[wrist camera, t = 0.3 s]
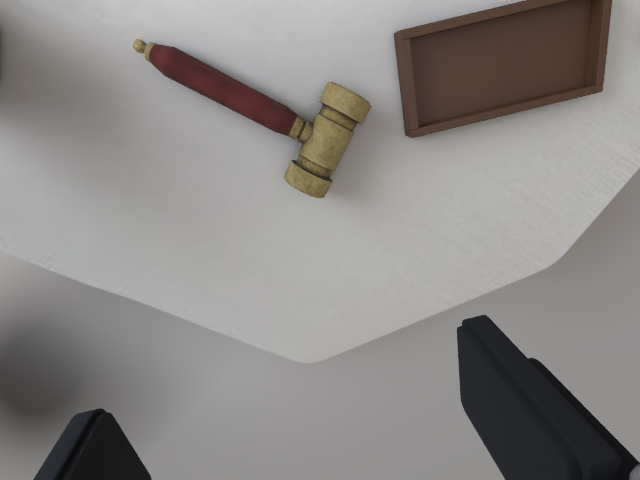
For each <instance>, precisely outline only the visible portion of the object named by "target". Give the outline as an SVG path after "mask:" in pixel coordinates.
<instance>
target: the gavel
mask: <svg viewBox="0 0 640 480" xmlns="http://www.w3.org/2000/svg"><path fill="white" fill-rule="evenodd" d="M133 48H134V49H135V50H136V51H137V52H139V53H144V57H145V58H146V60H147V61H149V62H151V63H152V64H153V65H154V66H155V67H156V68H157V69H158V70H159V71H160V72H161V73H162V74H163V75H165V76H167V77H168V78H170V79H172V80H174V81H176V82H178V83H180V84H182V85H184V86H186V87H188V88H190V89H192V90H194V91H196V92H198V93H200V94H202V95H204V96H206V97H208V98H210V99H212V100H214V101H216V102H218V103H220V104H222V105H224V106H226V107H228V108H230V109H232V110H233V111H235V112H237V113H239V114H241V115H243V116H245V117H247V118H249V119H251V120H253V121H255V122H257V123H259V124H261V125H263V126H265V127H267V128H269V129H271V130H273V131H275V132H278V133H281V134H284V135H287V136H290V137H292V138H293V139H296V138H297V139H299V140H298V141H299V142H301V143H303V144H302V146H301V149H300V151H299V153H300V155H299V157H298V159H297V161H295V160H291V162H290V164H289V167H288V169H287V171H286V173H285V175H284V178H285V180H286V182H287V183H289V184H290V185H291V186H293V187H294V188H296V189H298V190H299V191H301V192H303V193H305V194H308V195H310V196H313V197H316V198H324V197H325V195H326V193H327V191H328V189H329V187H330V185H331V183H332V180H331V179H330V178H329V177H330V175H331V173H332V171H334V170H335V169H336V167H337V165H338V163H339V161H340V159H341V157H342V155H343V153H344V151H345V149H346V147H347V145H348V143H349V141H350V139H351V137H352V135H353V134H354V133H353V130H354V128H355V126H356V124H357V123H360V124H362V123H363V121H364V119H365V117H366V115H367V114H368V112H369V110H370V108H371V105H370V103H369V102H368V101H367V100H365V99H364V98H362V97H361V96H359V95H357V94H356V93H354V92H352V91H350V90H348V89H346V88H344V87H342V86H340V85H338V84H336V83H333V82H329V83H327V85H326V87H325V90H324V92H323V94H322V96H321V98H320V100H319V101H320V102H321V103H322V104H323V106H322V108H321V110H320V112H319V114H317V115H316V117H315V119H314V121H313V122H311V121H309V120H308V121H305V119H304V118H303V117H301V116H299V115H297V114H296V113H295V112H293V111H292V110H291V109H289V108H288V107H287V106H285V105H283V104H281V103H279V102H277V101H275V100H273V99H271V98H270V97H268V96H266V95H264V94H262V93H260V92H258V91H256V90H254V89H252V88H251V87H249V86H247V85H245V84H243V83H241V82H239V81H237V80H235V79H234V78H232V77H230V76H228V75H226V74H224V73H222V72H220V71H218V70H216V69H215V68H213V67H211V66H209V65H207V64H205V63H203V62H201V61H199V60H198V59H196V58H194V57H192V56H190V55H188V54H186V53H184V52H182V51H180V50H179V49H177V48H175V47H169V46H163V45H157V44H155V43H153V42H151V43H148V44H147V45H146V44H145V43H144V42H143V41H142V40H139V39H138V40H135V41H134V43H133Z"/></svg>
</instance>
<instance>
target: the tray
mask: <svg viewBox="0 0 640 480" xmlns="http://www.w3.org/2000/svg"><path fill="white" fill-rule="evenodd" d="M611 5H612V0H526V1H522V2H518V3H513V4H509V5H505V6H501V7H497V8H492V9H488V10H484V11H480V12H476V13H471V14H467V15H463V16H459V17H455V18H450V19H446V20H442V21H438V22H434V23H429V24H425V25H421V26H417V27H413V28H408V29H404V30H400V31H398V32H396V33H394V39H395V48H396V56H397V65H398V74H399V83H400V91H401V100H402V109H403V117H404V126H405V135H406V136H409V137H411V138H414V137H418V136H422V135H426V134H430V133H434V132H439V131H443V130H447V129H451V128H455V127H459V126H463V125H467V124H471V123H475V122H480V121H484V120H488V119H492V118H496V117H500V116H504V115H508V114H512V113H516V112H520V111H525V110H529V109H533V108H537V107H541V106H545V105H549V104H553V103H557V102H561V101H566V100H570V99H574V98H578V97H582V96H586V95H590V94H594V93H598V92H602V90H603V84H602V83H604V73H605V63H606V54H607V44H608V34H609V25H610V15H611Z"/></svg>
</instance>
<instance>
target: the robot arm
mask: <svg viewBox="0 0 640 480" xmlns="http://www.w3.org/2000/svg"><path fill="white" fill-rule="evenodd" d="M457 342H458V358H459V376H460V394H461V402H462V405H463V408H464V410H465V412H466V414H467V416H468V417H469V419H470V421H471V422H472V424H473V426H474V428H475V429H476V431H477V432H478V434H479V436H480V438H481V439H482V441H483V443H484V444H485V446H486V448H487V449H488V451H489V453H490V454H491V456H492V458H493V460H494V461H495V463H496V464H497V466H498V468H499V470H500V471H501V473H502V475H503V476H504V478H505V480H640V463H639V462H638V461H637V460H636V459H635V458H634V457H633V456H632V455H631V454H630V453H629V451H627V449H626V448H625V447H624V446H623V445H622V444H620V443H619V441H618V440H617V439H616V438H615V437H614V436H613V435H612V434H611V433H610V432H609V431H608V430H607V429H606V428H605V427H604V426H603V425H602V424H601V423H600V422H599V421H598V420H597V419H596V418H595V417H594V416H593V415H592V414H591V413H590V412H589V411H588V410H587V409H586V408H585V407H584V406H583V405H582V404H581V403H580V402H579V401H578V400H577V399H576V398H575V397H574V396H573V395H572V394H571V392H570V391H568V389H567V388H566V387H564V385H563V384H562V383H561V382H560V381H559V380H558V379H557V378H556V377H555V376H554V375H553V374H552V373H551V372H550V371H549V370H548V369H547V368H546V367H545V366H544V365H543V364H542V363H541V362H539V361H538V360H536V359H534V358H529V359H528V358H527V357H526V356H525V355H524V354H523V353H522V352H521V351H520V350H519V349H518V348H517V347H516V346H515V345H514V344H513V343H512V342H511V341H510V339H509V338H508V337H507V336H506V335H505V334H504V333H503V332H502V331H501V330H500V329H499V328H498V327H497V326H496V325H495V324H494V323H493V321H492V320H491V319H490V318H489V317H487V316H486V315H481V316H477V317H474V318H469V319H465V320H463V322H462V326H460V327H458V328H457ZM34 480H151V477H150V474H149V473H148V471H147V470H146V468H145V466H144V465H143V463H142V462H141V460H140V458H139V457H138V455H137V453H136V452H135V450H134V449H133V447H132V445H131V444H130V442H129V441H128V439H127V437H126V436H125V434H124V433H123V431H122V429H121V428H120V426H119V425H118V423H117V422H116V420H115V418H114V417H113V415H112V414H111V413H107V412H106V411H105V410H104V409H96V410H91V411H87V412H83V413H79V414H77V415H75V416H74V417H73V418H72V419H71V420H70V422H69V424H68V425H67V427H66V428H65V430H64V432H63V433H62V435H61V437H60V438H59V440H58V441H57V443H56V444H55V446H54V447H53V449H52V451H51V452H50V454H49V455H48V457H47V459H46V460H45V462H44V463H43V465H42V467H41V468H40V470H39V471H38V473H37V475H36V476H35V478H34Z"/></svg>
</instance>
